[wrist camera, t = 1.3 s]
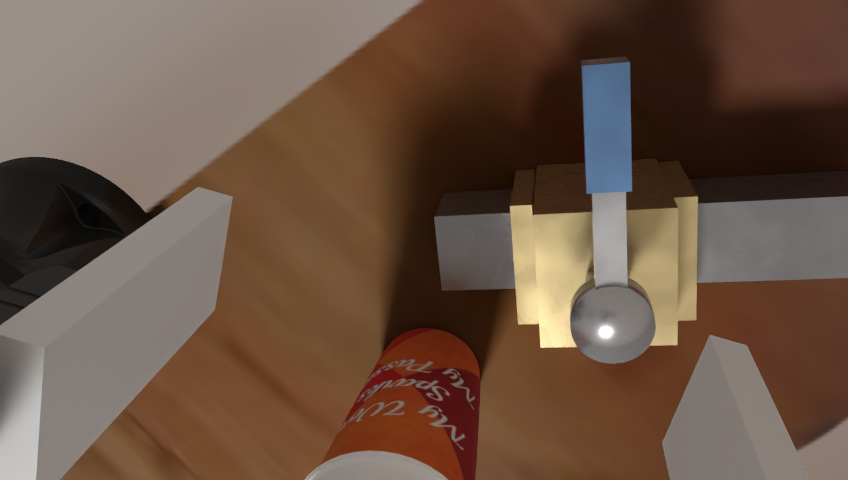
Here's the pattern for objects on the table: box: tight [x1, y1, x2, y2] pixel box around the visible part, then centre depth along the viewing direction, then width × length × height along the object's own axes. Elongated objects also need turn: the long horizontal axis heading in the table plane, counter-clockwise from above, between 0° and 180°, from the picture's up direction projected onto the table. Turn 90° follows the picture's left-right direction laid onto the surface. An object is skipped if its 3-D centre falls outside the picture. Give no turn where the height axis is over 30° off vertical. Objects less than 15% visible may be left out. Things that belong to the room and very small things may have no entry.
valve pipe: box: [434, 158, 848, 347], centre depth 37 cm, size 20×6×11 cm, turn 96°
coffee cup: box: [305, 328, 480, 480], centre depth 40 cm, size 8×8×15 cm
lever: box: [570, 56, 656, 363], centre depth 30 cm, size 3×12×1 cm, turn 6°
